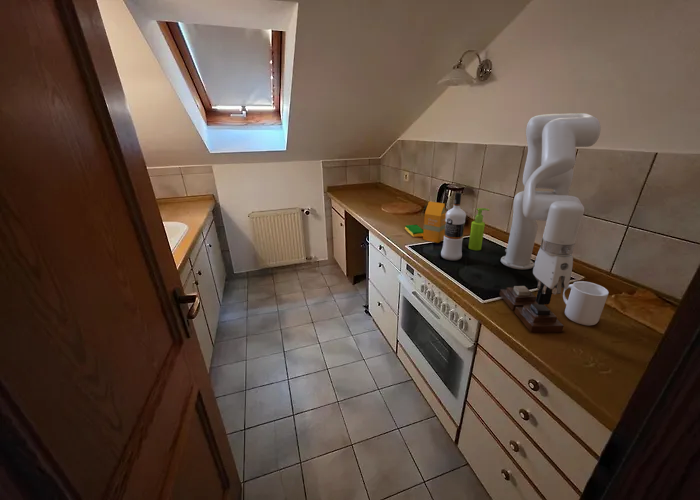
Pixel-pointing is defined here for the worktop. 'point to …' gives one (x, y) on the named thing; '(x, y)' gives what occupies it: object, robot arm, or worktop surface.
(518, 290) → the key ivory
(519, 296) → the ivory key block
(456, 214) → the vodka
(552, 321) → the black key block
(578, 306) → the mug
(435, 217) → the orange juice
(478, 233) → the soap dispenser
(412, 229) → the dish sponge
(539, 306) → the key black
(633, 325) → the worktop surface
